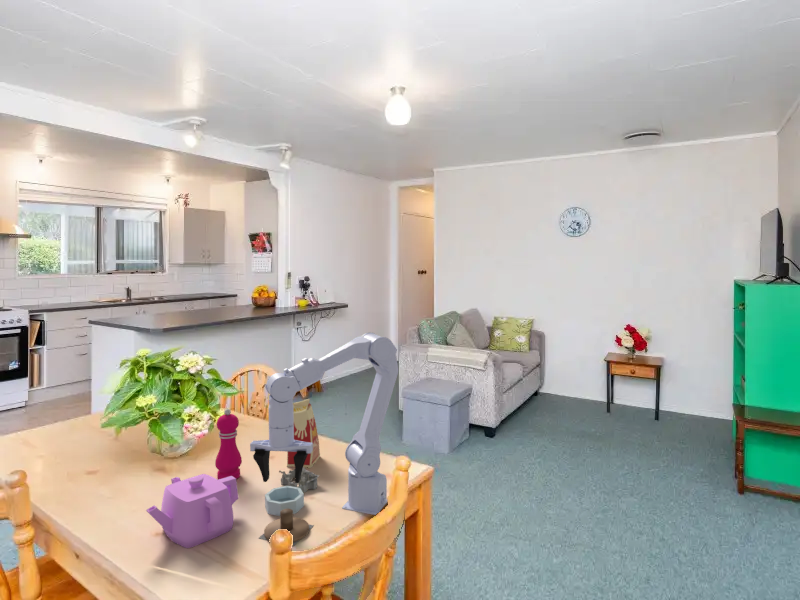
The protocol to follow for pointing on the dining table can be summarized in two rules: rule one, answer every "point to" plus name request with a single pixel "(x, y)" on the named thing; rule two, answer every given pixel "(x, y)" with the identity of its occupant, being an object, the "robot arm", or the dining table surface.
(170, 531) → the teakettle
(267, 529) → the lid
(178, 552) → the dining table surface
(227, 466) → the pepper mill
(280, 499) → the bowl
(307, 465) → the milk carton
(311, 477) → the egg carton
